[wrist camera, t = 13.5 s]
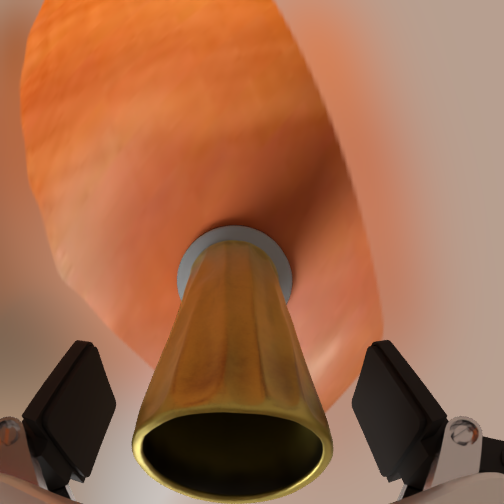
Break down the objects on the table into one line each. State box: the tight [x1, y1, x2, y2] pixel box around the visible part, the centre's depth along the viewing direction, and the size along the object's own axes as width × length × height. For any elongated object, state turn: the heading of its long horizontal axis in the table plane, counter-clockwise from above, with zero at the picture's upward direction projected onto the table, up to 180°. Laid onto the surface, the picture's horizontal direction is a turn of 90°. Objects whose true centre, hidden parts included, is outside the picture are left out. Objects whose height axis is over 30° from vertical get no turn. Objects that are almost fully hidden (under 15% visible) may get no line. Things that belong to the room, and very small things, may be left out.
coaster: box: [177, 225, 292, 305], centre depth 20 cm, size 8×8×1 cm
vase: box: [132, 240, 333, 504], centre depth 12 cm, size 6×6×14 cm
